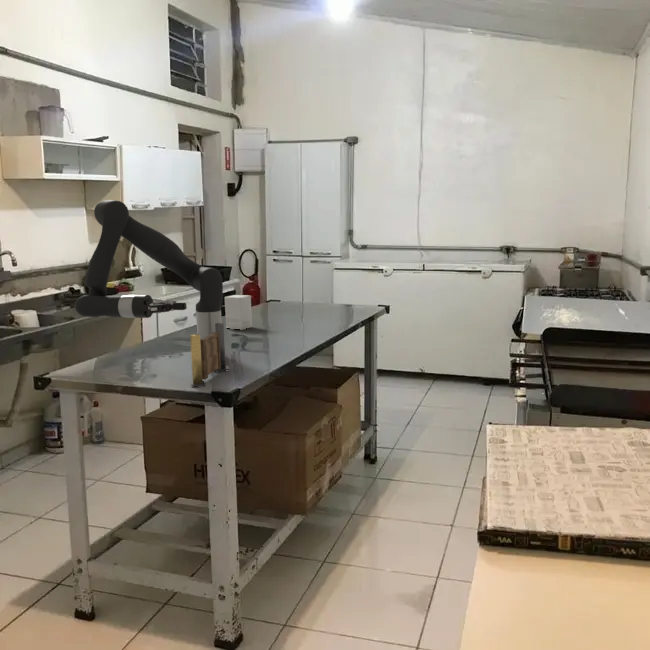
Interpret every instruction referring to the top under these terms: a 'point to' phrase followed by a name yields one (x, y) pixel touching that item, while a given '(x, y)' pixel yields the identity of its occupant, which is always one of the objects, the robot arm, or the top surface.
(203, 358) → the gate
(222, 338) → the hinge post
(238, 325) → the supplement box
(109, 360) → the top surface
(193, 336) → the post
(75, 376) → the top surface
